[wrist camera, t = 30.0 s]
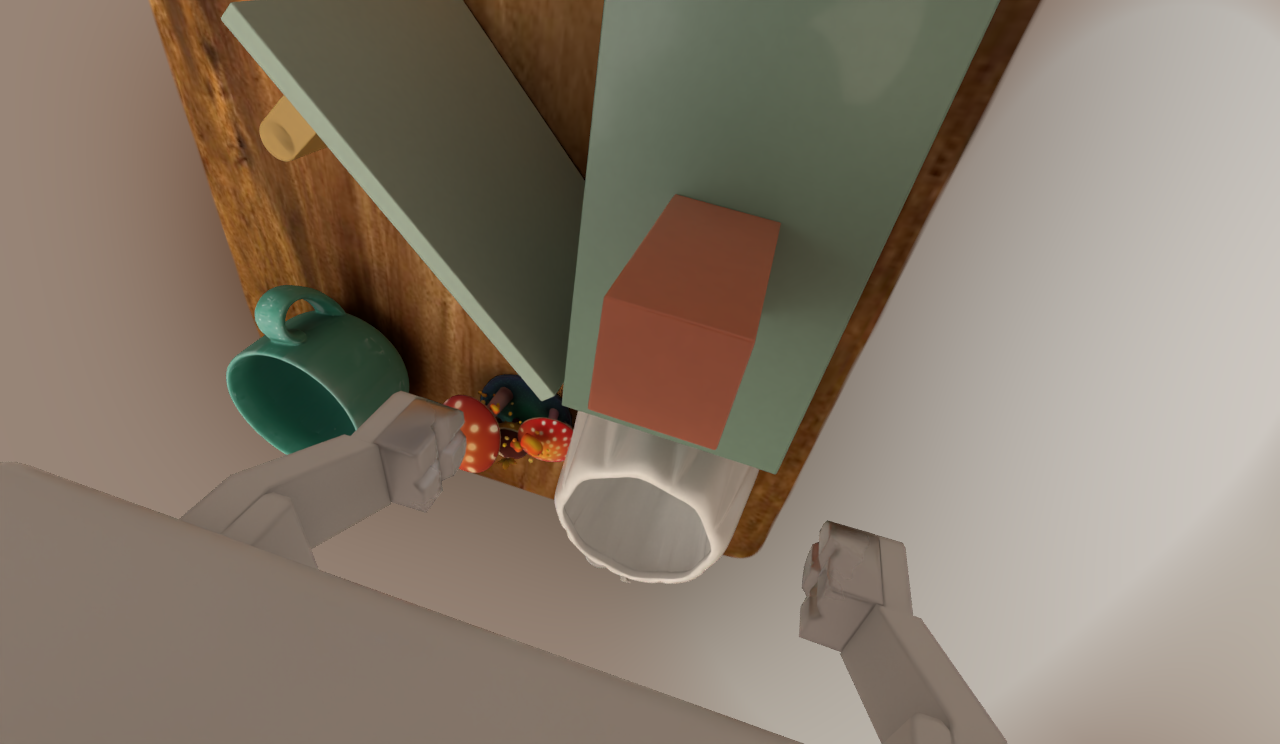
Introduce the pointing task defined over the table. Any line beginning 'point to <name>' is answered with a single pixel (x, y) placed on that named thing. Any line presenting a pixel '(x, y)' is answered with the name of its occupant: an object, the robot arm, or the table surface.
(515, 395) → the figurine
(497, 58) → the door
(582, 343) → the cupboard
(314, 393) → the mug
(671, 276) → the block
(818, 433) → the table surface
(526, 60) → the table surface
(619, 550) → the vase
